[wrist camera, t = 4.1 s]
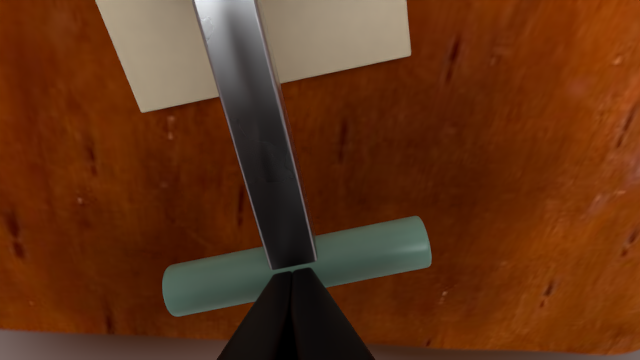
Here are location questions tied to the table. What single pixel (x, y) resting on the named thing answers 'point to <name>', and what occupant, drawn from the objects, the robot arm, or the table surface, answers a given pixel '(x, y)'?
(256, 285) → the lever
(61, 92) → the table surface
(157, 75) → the toaster bracket
